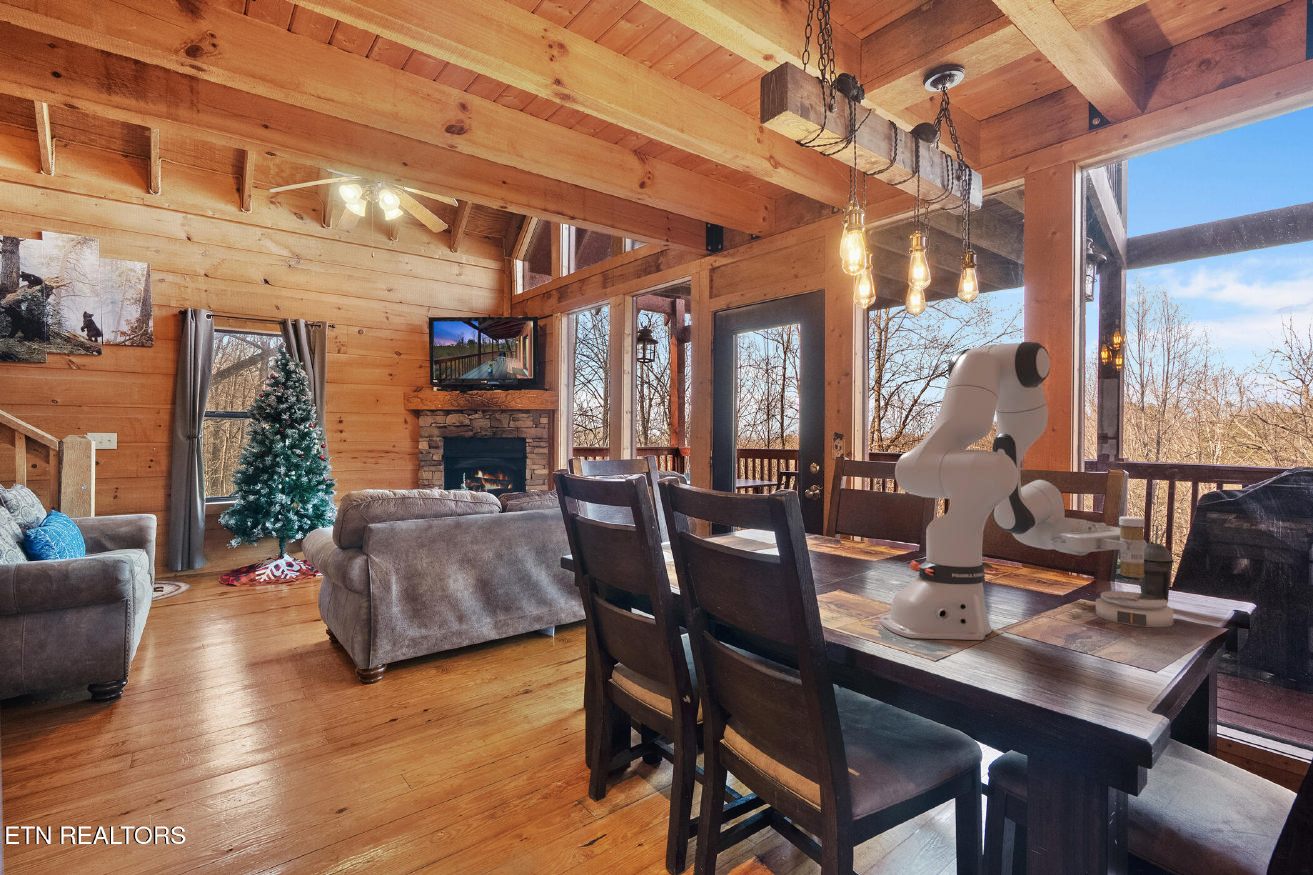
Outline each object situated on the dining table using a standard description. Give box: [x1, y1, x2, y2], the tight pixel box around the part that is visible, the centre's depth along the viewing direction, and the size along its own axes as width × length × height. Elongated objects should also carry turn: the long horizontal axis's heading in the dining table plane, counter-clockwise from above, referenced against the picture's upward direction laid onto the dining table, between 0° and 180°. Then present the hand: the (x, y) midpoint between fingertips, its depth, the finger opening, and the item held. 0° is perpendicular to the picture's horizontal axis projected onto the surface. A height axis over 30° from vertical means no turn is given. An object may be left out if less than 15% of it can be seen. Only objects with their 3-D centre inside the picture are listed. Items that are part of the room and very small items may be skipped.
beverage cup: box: [1138, 524, 1175, 604], centre depth 149 cm, size 7×7×20 cm
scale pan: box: [1100, 590, 1168, 609], centre depth 140 cm, size 12×12×1 cm
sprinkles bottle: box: [1118, 515, 1145, 579], centre depth 140 cm, size 5×5×14 cm
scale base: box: [1095, 597, 1174, 628], centre depth 140 cm, size 14×14×3 cm
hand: (1136, 545), depth 139 cm, fingers closed on sprinkles bottle, 4 cm apart
